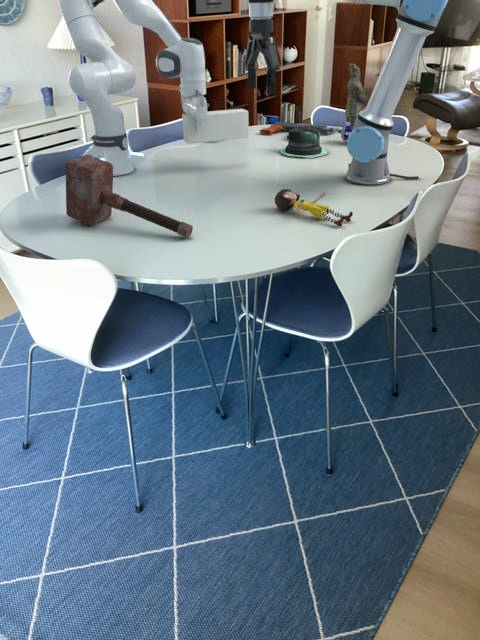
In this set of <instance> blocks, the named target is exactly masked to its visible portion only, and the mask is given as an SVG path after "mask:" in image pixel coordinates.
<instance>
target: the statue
mask: <svg viewBox="0 0 480 640" xmlns="http://www.w3.org/2000/svg"><path fill="white" fill-rule="evenodd" d="M348 70H349V73H350V75H349V76H350V78H349V81H348V82H347V85H346V90H347V98H346V99H347V100H346V101H347V102H346V106H345V112H344V115H345V123H346V122H350V124H352V127H354V124H355V122H356V117H357V114H358V113H359V112H360V111H362V110H363V108H364V104H365V103H367V102H368V96H367V95H366V94H365V91H364V86H363V84H362V82H361V68H360V67H359V66H358V65H357V64H356V63H351V62H350V63H348Z"/></svg>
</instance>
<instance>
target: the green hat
mask: <svg viewBox="0 0 480 640" xmlns="http://www.w3.org/2000/svg"><path fill="white" fill-rule="evenodd" d="M288 134H289V139H287V140H288V141H287V142H288V143H287V145H286V146H285V147H283V148H281V149H280V150H279V153H280V154H282V155H285V156H289V157H296V158H297V157H298V158H307V159H309V158H310V159H311V158H313V159H314V158H317V157H323V156H326V155H327V154H328V150H326V149H325V148H322V146H321V144H320V142H321V132H319V131H318V130H316V129H311V128H298V129H294V130H291V131H288Z"/></svg>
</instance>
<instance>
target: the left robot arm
mask: <svg viewBox="0 0 480 640" xmlns="http://www.w3.org/2000/svg"><path fill="white" fill-rule="evenodd" d="M105 1H106V0H59V4H60V5H59V6H60V10H61V14H62V18H63V21H64V24H65V27H66V29H67V32H68V34H69V37H70V39H71V43H72V45H73V47H74V49H75V51H76V52H77V53H78V54H80V55H81V56H83V57H85V58H86V59H88V60H89V61H91V62H83V63H81V64H78V65H74V66H73V67H71V68H70V70H69V74H68V84H69V87H70V89H71V91H72V92H73V93H74V94H75V95H76V96H78V97H79V98H80V99H82V100H83V102H84V103H85V104H86V106H87V107H88V109H89V111H90V114H91V117H92V121H93V126H94V133H95V134H93V135H92V136H90V137H89V141H92V145H91V146H90V147H88V148H87V149H86V150H85V151H84V152H83V153H81V156H80V157H82V156H84V155H87V154H89V155H91V156H94V157H96V158H99V159H101V160H104V161H107V162H109V163H111V164H112V165H113V177H116V176H124V175H128V174H130V173H133V172H134V171H135V168H134V165H133V164H132V160H131V156H130V155H134V156H140V157H144V153H142V152H134V151H129V142H128V135H127V132H126V126H125V119H124V118H125V117H124V112H123V111H122V110H121V108H120V107H118V106H116V105H114V104H112V103H111V101H110V99H109V95H113V94H119V93H123V92H126V91H128V90H130V89H133V88H134V87H135V85H136V81H137V76H136V75H137V73H136V71H135V68H134V66H133V65H132V64H131V62H129V61H127V60H126V59H124V58H122V57H121V56H120V55H119V54H118V53H117V52H115V50H114V49H113V48H112V47H111V46H110V44H109V43H108V41H107V40H106V37H105V35H104V33H103V31H102V28H101V26H100V23H99V21H98V18H97V15H96V14H95V13H96V12H95V11H94V8H96V7H97V6H98V5H100V4H101V3H103V2H105ZM112 1H113V3H114V4H115V6H116V7H117V9H118V10H119V12H120V13H121V15H122V16H123V17H124V18H125V20H127V22H129V23H130V24H133V25H135V26H139V27H143V28H145V29H148V30H151V31H152V32H154V33H155V34H157V35H158V36H159V38H160V39H161V40H162V42H163V43H164V44H165V46H166V47H167V48H163V49H161V50H160V51H159V52H158V53H157V54H156V57H155V67H156V70H157V72H158V73H159V74H160V75H161V77H163V78H164V79H165V78H166V79H174V78H179V79H180V84H179V86H178V91H179V92H180V101H181V108H182V111H183V113H184V114H186V113H188V114H190V115H192V116H193V118H195V119H196V131H198V132H200V131H202V122H203V121H205V120H207V118H208V112H209V111H208V104H207V99H206V97H204V96H205V95H206V94H207V81H206V79H207V78H206V74H205V69H206V56H205V50H204V49H205V48H204V46H203V42H201V41H200V40H199V39H198V38H194V37H182V35H181V34H180V32H179V31H178V30H177V28H176V27H175V25H174V24H173V23H172V22H171V20H170V19H169V18H168V17H167V15H166V14H165V13H164V11H162V10H161V9H160V8H159V7H158V6H157V5H156V4H155V2H154V1H153V0H112Z"/></svg>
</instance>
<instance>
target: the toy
mask: <svg viewBox="0 0 480 640" xmlns="http://www.w3.org/2000/svg"><path fill="white" fill-rule="evenodd" d="M352 130H353V127H352V124H350V122H346V121H345V122H344V123H343V126H342V128H341V129H339V130H338V134H340V137H341V139H342V141H343V142H347V139H348V136H349V134H350V133H351V132H352Z"/></svg>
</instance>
